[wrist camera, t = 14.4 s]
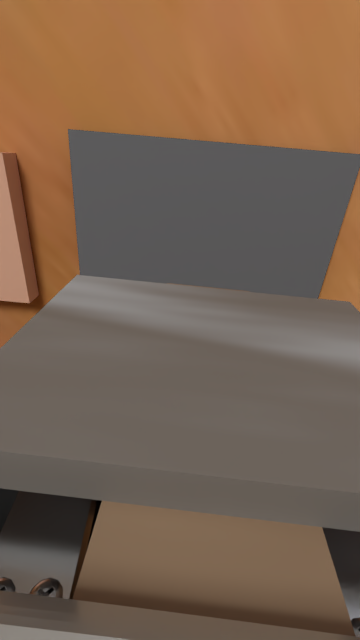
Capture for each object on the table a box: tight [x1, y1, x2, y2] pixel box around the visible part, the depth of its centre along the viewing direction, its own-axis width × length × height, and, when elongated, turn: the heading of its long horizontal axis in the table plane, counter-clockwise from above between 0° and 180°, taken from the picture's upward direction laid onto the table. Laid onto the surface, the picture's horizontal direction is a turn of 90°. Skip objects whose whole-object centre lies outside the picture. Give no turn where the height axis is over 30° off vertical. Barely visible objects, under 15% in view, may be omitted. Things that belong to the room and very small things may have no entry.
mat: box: [68, 129, 360, 299], centre depth 18 cm, size 14×14×1 cm
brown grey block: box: [0, 275, 360, 637], centre depth 8 cm, size 5×8×10 cm, turn 86°
